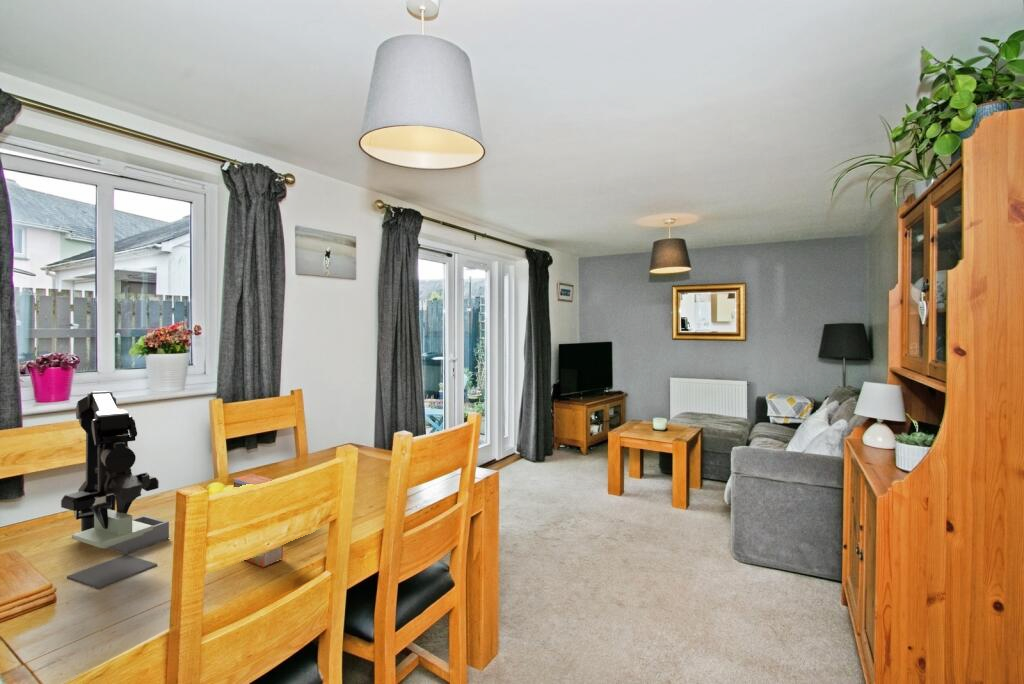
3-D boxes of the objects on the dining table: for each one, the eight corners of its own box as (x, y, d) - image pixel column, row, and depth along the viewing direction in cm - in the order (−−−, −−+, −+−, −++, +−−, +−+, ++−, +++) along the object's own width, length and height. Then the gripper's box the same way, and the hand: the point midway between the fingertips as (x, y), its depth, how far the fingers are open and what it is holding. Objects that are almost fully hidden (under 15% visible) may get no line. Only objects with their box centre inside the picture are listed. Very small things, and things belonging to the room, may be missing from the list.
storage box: (102, 546, 139) (101, 528, 138) (144, 532, 149) (144, 515, 148) (126, 554, 134) (126, 535, 134) (168, 538, 144) (168, 521, 144)
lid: (71, 542, 122) (71, 518, 122) (124, 525, 132) (124, 503, 132) (100, 552, 117) (100, 526, 117) (152, 533, 128) (152, 510, 128)
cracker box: (284, 559, 133) (284, 481, 132) (262, 569, 128) (262, 487, 127) (254, 546, 140) (254, 472, 140) (232, 554, 135) (232, 477, 134)
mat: (66, 577, 122) (66, 576, 122) (125, 555, 134) (125, 554, 134) (98, 589, 116) (98, 587, 116) (157, 565, 128) (157, 563, 128)
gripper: (87, 478, 113) (88, 547, 113) (172, 458, 130) (172, 518, 130) (59, 471, 117) (60, 538, 117) (145, 453, 134) (145, 511, 135)
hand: (113, 526), depth 125 cm, fingers closed on lid, 3 cm apart
